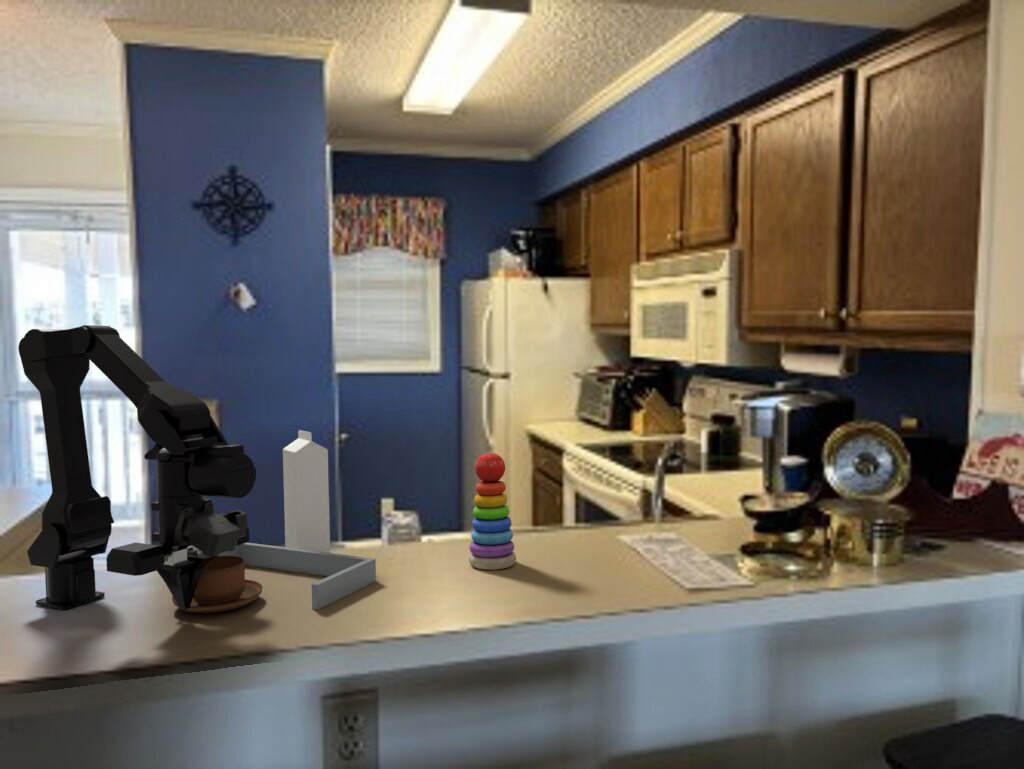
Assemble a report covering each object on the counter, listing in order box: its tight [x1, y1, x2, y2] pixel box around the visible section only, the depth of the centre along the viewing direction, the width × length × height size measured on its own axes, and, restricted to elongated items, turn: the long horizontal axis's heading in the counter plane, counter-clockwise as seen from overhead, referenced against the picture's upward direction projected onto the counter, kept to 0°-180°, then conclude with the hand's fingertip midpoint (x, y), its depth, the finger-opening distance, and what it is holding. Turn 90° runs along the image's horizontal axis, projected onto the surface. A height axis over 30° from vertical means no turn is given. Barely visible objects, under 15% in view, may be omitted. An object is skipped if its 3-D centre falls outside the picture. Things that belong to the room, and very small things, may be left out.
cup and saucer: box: [171, 556, 263, 614], centre depth 107 cm, size 12×12×6 cm
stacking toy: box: [468, 452, 517, 571], centre depth 125 cm, size 8×8×19 cm
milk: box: [282, 429, 331, 553], centre depth 132 cm, size 6×6×22 cm
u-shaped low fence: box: [218, 542, 377, 610], centre depth 116 cm, size 28×14×4 cm, turn 66°
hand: (184, 608), depth 100 cm, fingers closed
